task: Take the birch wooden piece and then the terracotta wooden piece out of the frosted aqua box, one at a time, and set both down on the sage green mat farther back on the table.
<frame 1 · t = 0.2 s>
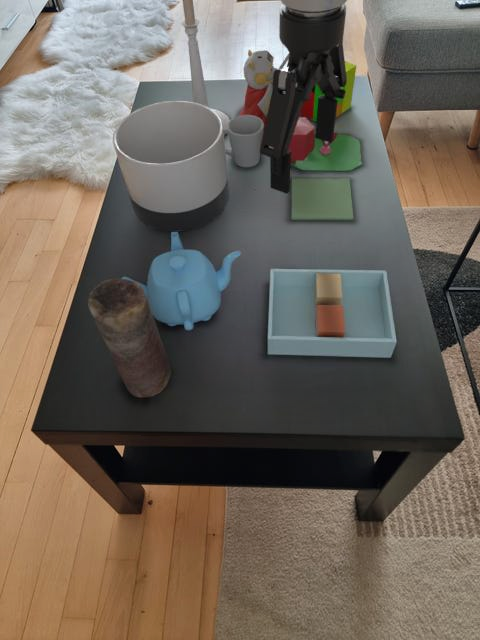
hand: (303, 163, 71), 21 cm above the table, tool pointing down, fingers open, 13 cm apart
candlestick: (203, 127, 115), on the table
terracotta piece: (328, 334, 77), resting on box
mat: (321, 199, 97), on the table
puzzle toy: (321, 109, 116), on the table
candle: (149, 378, 75), on the table
box: (326, 319, 80), on the table
figurine: (262, 117, 116), on the table
birch piece: (326, 302, 81), resting on box
low-poly diorama: (314, 156, 106), on the table
planter: (183, 209, 98), on the table
teapot: (187, 303, 84), on the table
cup: (241, 160, 106), on the table
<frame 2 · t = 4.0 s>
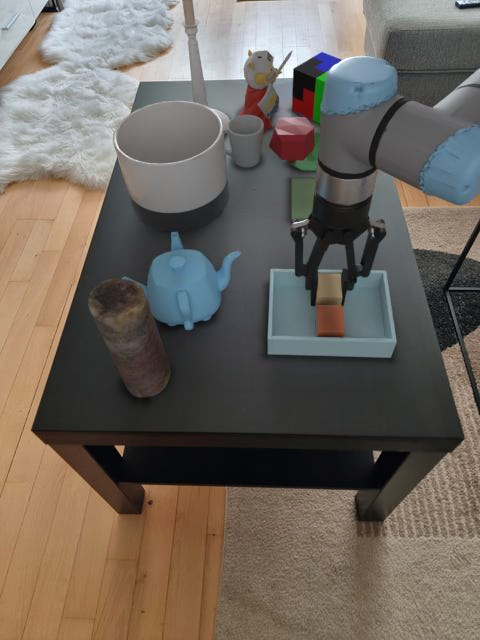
hand: (326, 299, 81), 1 cm above the table, tool pointing down, fingers closed on birch piece, 4 cm apart
birch piece: (326, 302, 81), point 1 cm above the table, touching box, gripper
everything else where it was.
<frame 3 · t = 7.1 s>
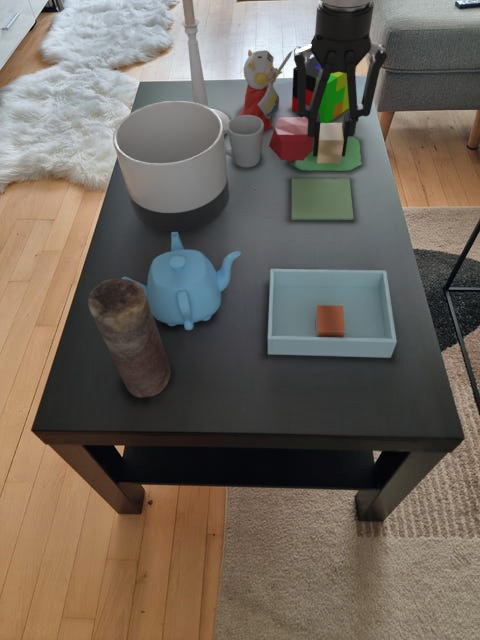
hand: (328, 151, 83), 14 cm above the table, tool pointing down, fingers closed on birch piece, 4 cm apart
birch piece: (328, 154, 83), point 14 cm above the table, touching gripper
everything else where it was.
when the fingers open (1 cm above the table, at t = 10.4 s): birch piece stays where it is, resting on mat.
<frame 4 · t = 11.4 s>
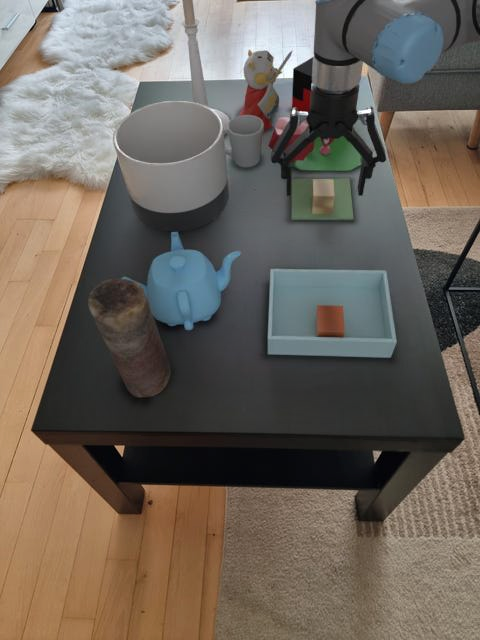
hand: (324, 191, 92), 4 cm above the table, tool pointing down, fingers open, 13 cm apart
birch piece: (321, 205, 95), resting on mat
everything else where it was.
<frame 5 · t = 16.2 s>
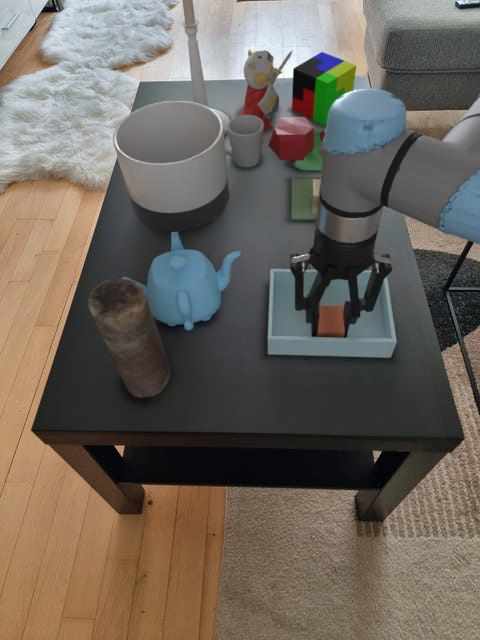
hand: (328, 332, 77), 1 cm above the table, tool pointing down, fingers closed on terracotta piece, 4 cm apart
terracotta piece: (328, 334, 77), resting on box, touching gripper
everything else where it was.
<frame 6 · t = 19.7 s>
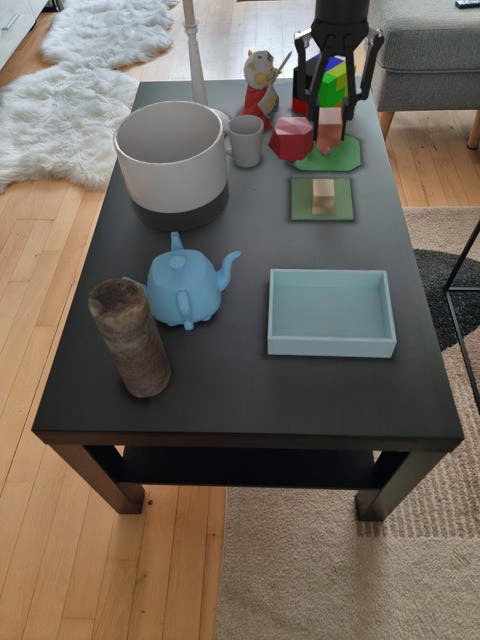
hand: (327, 135, 85), 15 cm above the table, tool pointing down, fingers closed on terracotta piece, 4 cm apart
terracotta piece: (327, 139, 85), point 14 cm above the table, touching gripper
everything else where it was.
when the fingers open (1 cm above the table, at t = 23.3 s): terracotta piece stays where it is, resting on mat.
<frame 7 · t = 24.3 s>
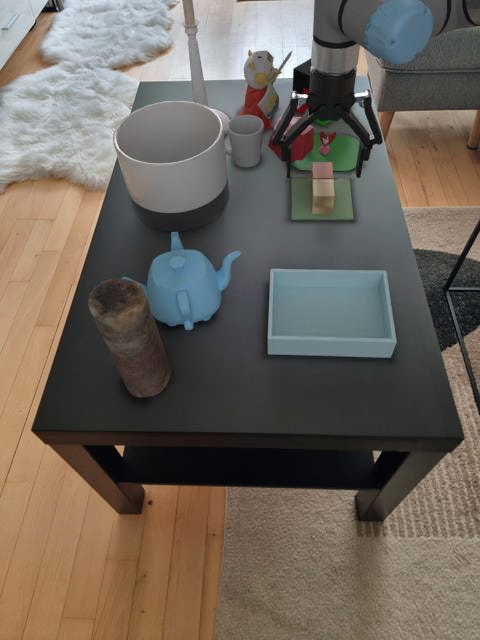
hand: (323, 173, 95), 4 cm above the table, tool pointing down, fingers open, 13 cm apart
terracotta piece: (320, 188, 98), resting on mat
everything else where it was.
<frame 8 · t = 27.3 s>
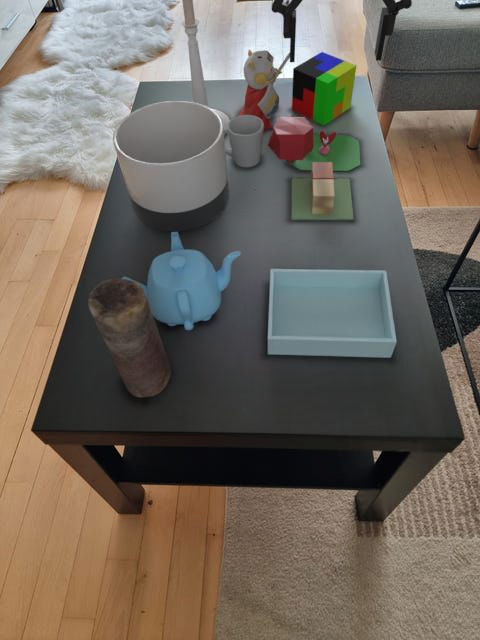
hand: (334, 57, 77), 27 cm above the table, tool pointing down, fingers open, 13 cm apart
nothing on the table moved.
at the end: birch piece inside the target area on the mat (2.4 cm from its centre), point 0.5 cm above the mat's base; terracotta piece inside the target area on the mat (2.9 cm from its centre), point 0.5 cm above the mat's base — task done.
